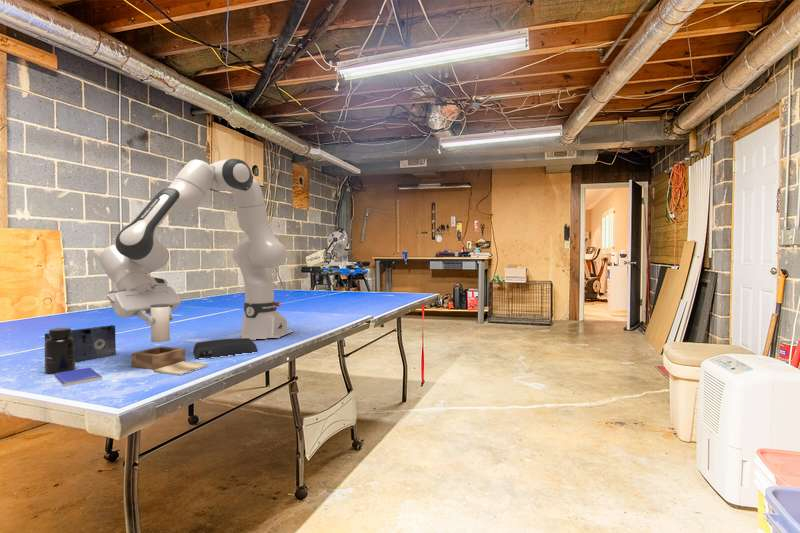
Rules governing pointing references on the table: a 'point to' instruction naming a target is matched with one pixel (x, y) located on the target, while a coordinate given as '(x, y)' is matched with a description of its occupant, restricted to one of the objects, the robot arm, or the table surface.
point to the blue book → (77, 376)
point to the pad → (180, 368)
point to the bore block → (157, 357)
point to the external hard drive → (223, 347)
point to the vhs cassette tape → (93, 342)
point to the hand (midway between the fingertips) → (161, 321)
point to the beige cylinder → (160, 323)
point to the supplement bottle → (59, 351)
